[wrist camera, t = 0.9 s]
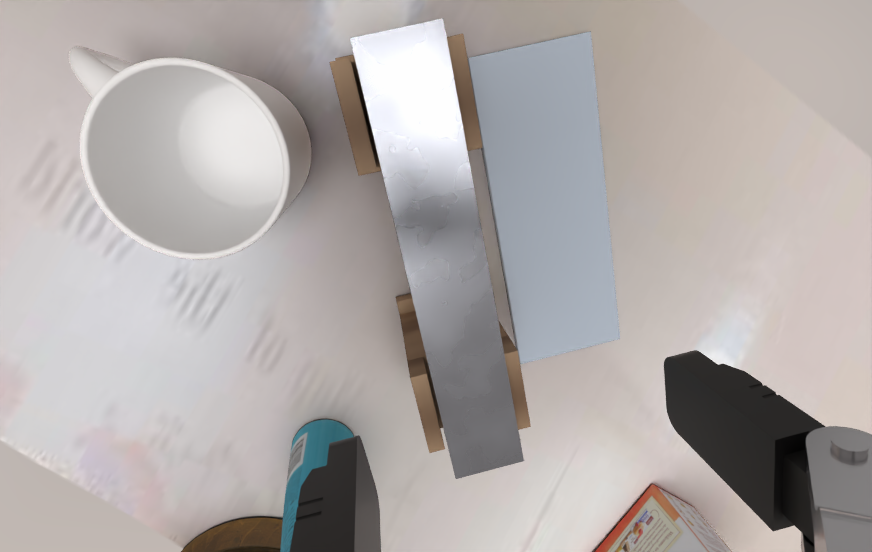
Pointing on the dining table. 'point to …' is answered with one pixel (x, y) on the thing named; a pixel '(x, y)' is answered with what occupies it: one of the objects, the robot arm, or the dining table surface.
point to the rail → (440, 238)
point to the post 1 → (358, 114)
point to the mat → (548, 193)
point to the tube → (307, 466)
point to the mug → (188, 152)
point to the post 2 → (424, 381)
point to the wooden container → (240, 537)
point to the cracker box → (662, 527)
